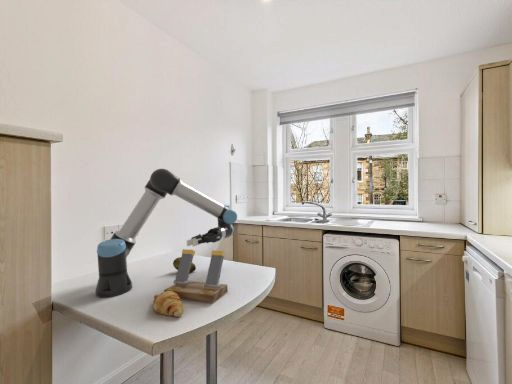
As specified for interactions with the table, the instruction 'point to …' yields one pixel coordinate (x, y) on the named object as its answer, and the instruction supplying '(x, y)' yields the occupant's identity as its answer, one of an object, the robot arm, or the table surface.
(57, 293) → the table surface
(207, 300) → the wooden base board
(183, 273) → the lever
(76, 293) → the table surface
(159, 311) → the croissant
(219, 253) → the lever
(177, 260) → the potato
